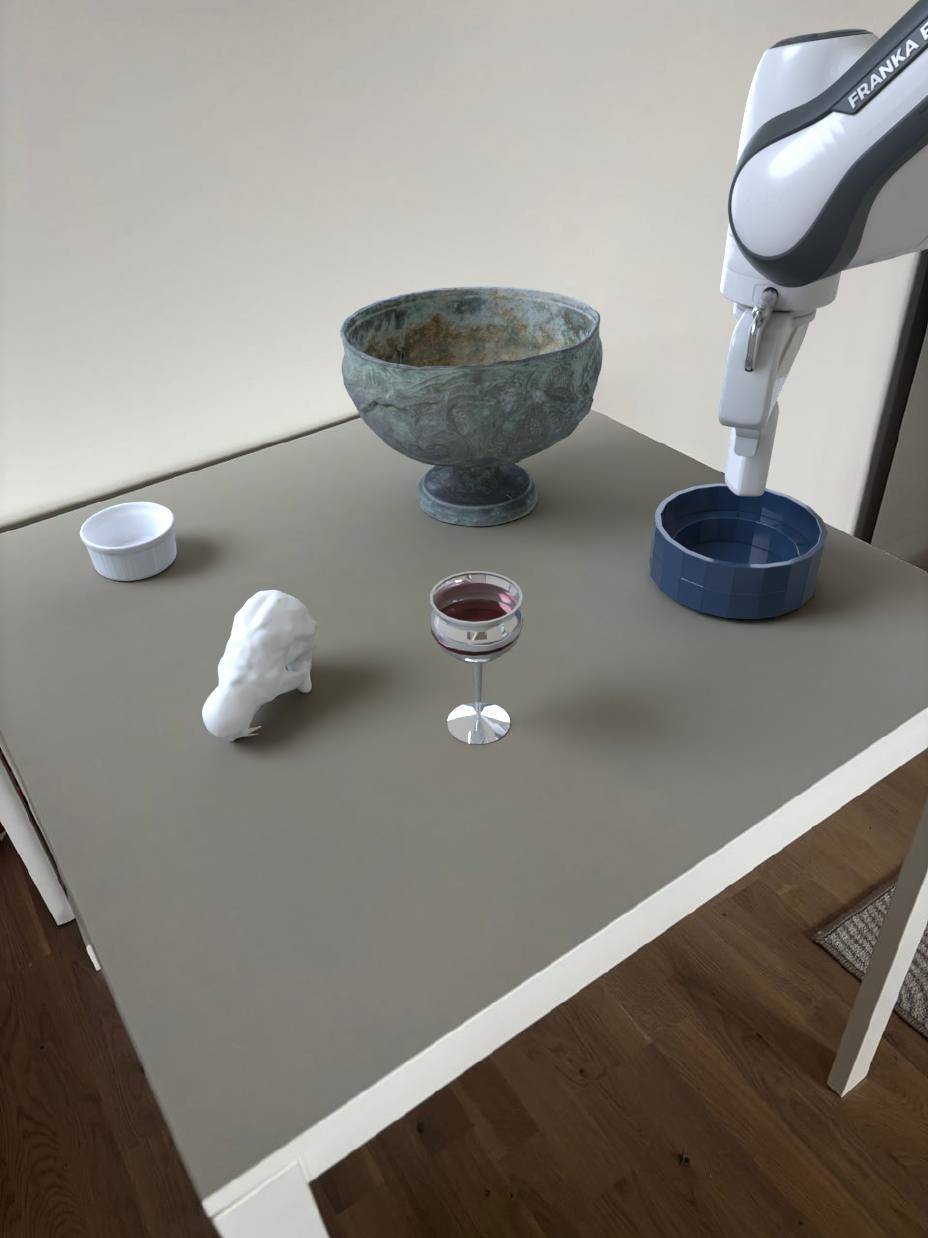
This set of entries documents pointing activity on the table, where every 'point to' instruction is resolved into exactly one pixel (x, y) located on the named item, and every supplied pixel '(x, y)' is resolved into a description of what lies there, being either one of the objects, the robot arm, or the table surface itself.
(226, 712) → the white lumpy figure
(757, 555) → the blue bowl
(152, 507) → the ramekin
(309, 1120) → the table surface
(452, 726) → the wineglass
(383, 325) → the decorative bowl
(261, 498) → the table surface
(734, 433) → the eye dropper bottle
